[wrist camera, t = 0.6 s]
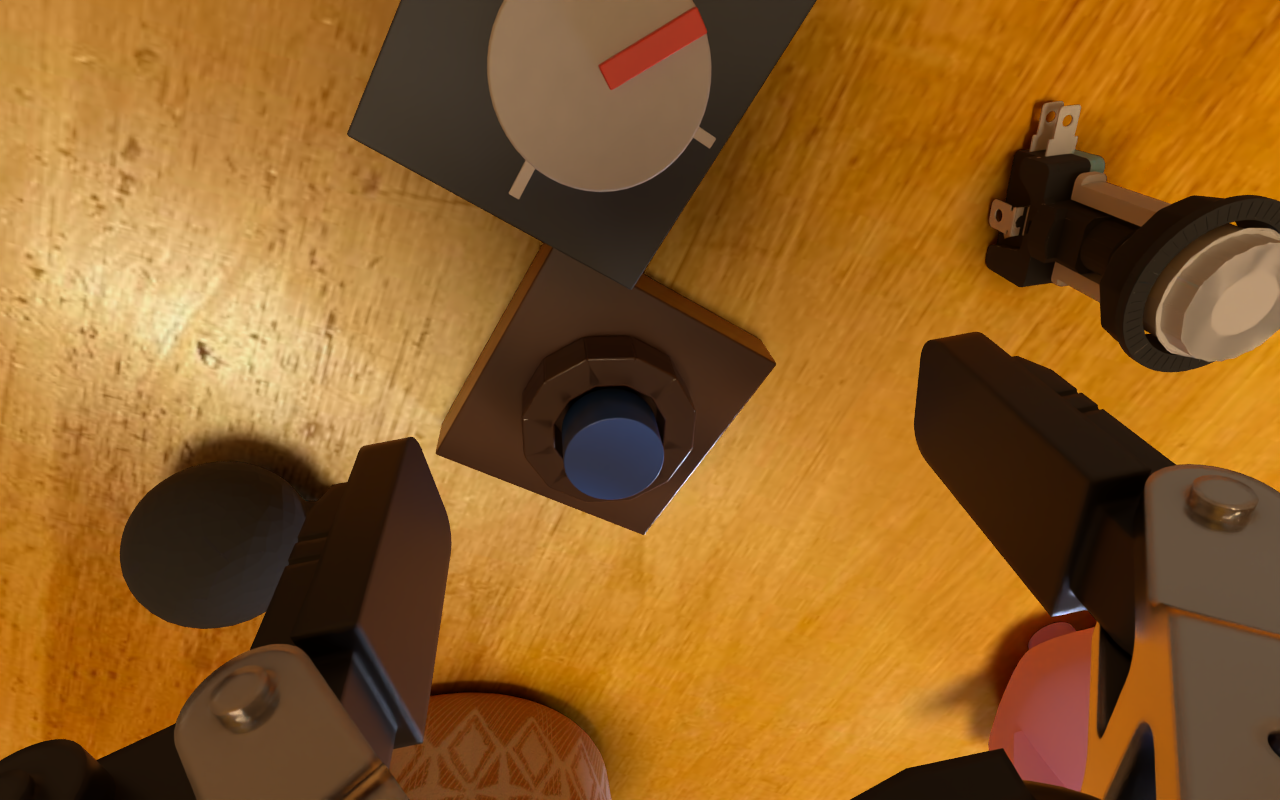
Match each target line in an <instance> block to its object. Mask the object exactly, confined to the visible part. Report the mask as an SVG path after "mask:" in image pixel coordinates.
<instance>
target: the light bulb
mask: <svg viewBox="0 0 1280 800" xmlns="http://www.w3.org/2000/svg"><path fill="white" fill-rule="evenodd" d="M316 502H317V501H305V500H304V499H302V498H301V497H300V495H299V494H298V493H297V492H296V491H295V490H294V488H293V487H292V486H291V485H290V484H289V483H288V482H287V481H285V480H284V479H283V478H281V477H280V476H278V475H276V474H275V473H273V472H271V471H269V470H267V469H264V468H262V467H259V466H256V465H252V464H248V463H241V462H225V461H221V462H213V463H206V464H201V465H198V466H194V467H190V468H187V469H185V470H183V471H181V472H178V473H176V474H174V475H172V476H170V477H169V478H167V479H165V480H164V481H162V482H161V483H159V484H158V485H157V486H155V487H154V488H153V489H152V490H150V491H149V492H148V493H147V494H146V495H145V497H144V498H143V499H142V500H141V501H140V502H139V503H138V505H137V506H136V508H135V509H134V511H133V512H132V514H131V515H130V517H129V519H128V521H127V523H126V526H125V528H124V532H123V535H122V539H121V546H120V563H121V569H122V573H123V577H124V579H125V581H126V583H127V585H128V587H129V589H130V591H131V592H132V594H133V595H134V596H135V598H136V599H137V600H138V602H139V603H141V604H142V605H143V606H144V607H145V608H146V609H147V610H149V611H150V612H151V613H153V614H154V615H156V616H158V617H160V618H162V619H163V620H165V621H167V622H170V623H174V624H177V625H180V626H183V627H191V628H200V629H208V628H220V627H226V626H233V625H236V624H239V623H242V622H245V621H248V620H251V619H253V618H255V617H257V616H259V615H260V614H262V613H264V612H266V611H267V608H268V606H269V604H270V601H271V599H272V597H273V594H274V592H275V590H276V587H277V585H278V582H279V580H280V578H281V575H282V573H283V571H284V568H285V566H288V565H289V562H288V559H289V556H290V554H291V552H292V549H293V547H294V545H295V543H298V538H297V537H298V535H299V533H300V530H301V528H302V526H303V523H304V521H305V518H306V516H307V514H308V511H309V510H310V509H311V508H312V507H313V506H314V505H315V503H316Z"/></svg>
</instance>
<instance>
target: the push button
mask: <svg viewBox="0 0 1280 800" xmlns="http://www.w3.org/2000/svg"><path fill="white" fill-rule="evenodd" d="M1080 110H1081V106H1080V105H1070V106H1064V103H1063V101H1057V102H1049V103H1045V104H1044V105H1043V106H1042V110H1041V115H1040V120H1039V125H1038V129H1037V134H1036V135H1033V136H1032V140H1031V145H1030V149H1029V150H1021V151H1017V152H1016V154H1015V156H1014V159H1013V165H1012V170H1011V175H1010V180H1009V185H1008V190H1007V195H1006V200H1005V202H1003V201H1001V200H999V199H995V200H994V201H993V202H992V207H991V212H990V218H989V223H990V226H991V227H993V228H995V229H997V230H999V236H998V241H997V244H995V245H990V246H989V248H988V250H987V256H986V265H987V267H988V268H989V269H991V270H992V271H994V272H995V273H997V274H999V275H1000V276H1002V277H1004V278H1005V279H1007V280H1008V281H1010V282H1012V283H1013V284H1015V285H1017V286H1018V287H1026V286H1032V285H1039V284H1047V283H1055V284H1056V285H1058V286H1068V285H1069V286H1071V287H1073V288H1074V289H1076V290H1078V291H1080V292H1082V293H1084V294H1085V295H1087V296H1089V297H1091V298H1093V299H1094V300H1096V301H1098V302H1100V311H1101V325H1102V327H1103V328H1104V329H1105V330H1106V331H1107V332H1108V333H1109V334H1110V335H1111V336H1112V337H1113V338H1114V339H1115V340H1116V341H1118V342H1119V344H1120V346H1121V347H1122V349H1123V350H1124V352H1125V353H1126V354H1127V355H1128V356H1129V357H1131V358H1132V359H1133V360H1135V361H1136V362H1138V363H1140V364H1141V365H1143V366H1145V367H1147V368H1149V369H1152V370H1156V371H1161V372H1180V371H1187V370H1191V369H1196V368H1199V367H1202V366H1205V365H1207V364H1210V363H1212V362H1214V361H1223V360H1226V359H1232V358H1235V357H1237V356H1239V355H1241V354H1243V353H1245V352H1248V351H1251V350H1253V349H1254V348H1256V347H1257V346H1259V345H1261V344H1263V343H1264V342H1265V341H1266V340H1267V339H1268V338H1269V337H1270V336H1272V335H1273V334H1274V333H1275V332H1276V331H1277V330H1279V329H1280V201H1277V200H1274V199H1270V198H1267V197H1262V196H1257V195H1242V196H1234V197H1229V198H1225V199H1224V198H1214V197H1205V196H1190V197H1187V198H1185V199H1183V200H1180V201H1178V202H1176V203H1173V204H1169V203H1166V202H1163V201H1160V200H1157V199H1154V198H1151V197H1148V196H1145V195H1142V194H1139V193H1136V192H1133V191H1130V190H1127V189H1124V188H1122V187H1119V186H1116V185H1113V184H1110V183H1107V182H1106V180H1107V176H1106V175H1105V174H1103V172H1104V168H1105V162H1104V159H1103V158H1102V157H1101V156H1097V155H1093V154H1089V153H1086V152H1082V151H1079V150H1076V149H1075V147H1076V143H1077V139H1078V136H1074V135H1075V131H1076V127H1077V123H1078V118H1079V114H1080ZM1051 111H1054V112H1055V118H1054V119H1053V121H1051V122H1047V121H1046V116H1047V114H1048V113H1049V112H1051ZM1067 115H1071V116H1072V121H1071V123H1070V124H1069V125H1068V126H1066V127H1064V126H1063V125H1062V121H1063V119H1064V118H1065V116H1067ZM999 209H1000V210H1001V211H1002V219H1001V221H1000V222H999V221H998V220H997V217H996V214H997V211H998V210H999ZM1231 222H1236V224H1237V226H1235V225H1232V224H1229V223H1231ZM1144 330H1146V331H1147V332H1149V333H1151V334H1145V332H1144Z"/></svg>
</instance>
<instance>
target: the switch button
mask: <svg viewBox="0 0 1280 800" xmlns="http://www.w3.org/2000/svg"><path fill="white" fill-rule="evenodd" d="M562 446H563V463H564V469H565V473H566V475H567V477H568V479H569V480H570V482H571V483H572V484H573V485H574V486H575V487H576V488H577V489H578V490H580V491H581V492H583V493H584V494H586V495H589V496H591V497H594V498H599V499H606V500H615V499H622V498H626V497H630V496H633V495H635V494H637V493H639V492H641V491H643V490H644V489H645V488H647V487H648V486H649V485H650V484H651V483H652V482H653V481H654V480H655V479H656V478H657V476H658V475H659V473H660V471H661V469H662V466H663V462H664V449H663V444H662V441H661V437H660V434H659V430H658V426H657V423H656V419H655V416H654V413H653V411H652V409H651V408H650V406H649V405H648V404H647V403H646V402H645V401H644V400H643V399H642V398H641V397H639V396H638V395H636V394H634V393H632V392H629V391H626V390H622V389H601V390H597V391H594V392H591V393H589V394H587V395H585V396H583V397H581V398H580V399H579V400H577V401H576V402H575V403H574V404H573V405H572V406H571V407H570V409H569V410H568V411H567V413H566V415H565V417H564V420H563V424H562Z"/></svg>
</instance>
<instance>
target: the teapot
mask: <svg viewBox="0 0 1280 800" xmlns="http://www.w3.org/2000/svg"><path fill="white" fill-rule="evenodd" d="M1094 628H1095V627H1093V628H1088V629H1085V630H1081V631H1077V632H1076V630H1075V629H1074V628H1073V626H1072V625H1071V624H1069V623H1065V622H1058V623H1053V624H1050V625H1048V626H1045V627H1043V628H1042V629H1040V630H1039V631H1037V632H1036V633H1035V634H1034V635H1033V636H1032V637H1031V639H1030V641H1029V644H1028V648H1029V651H1028V652H1026V653H1025V654H1024V656H1023V657H1022V658H1021V660H1020V661H1019V663H1018V665H1017V666H1016V668H1015V670H1014V672H1013V674H1012V676H1011V678H1010V681H1009V683H1008V685H1007V687H1006V690H1005V692H1004V694H1003V697H1002V699H1001V702H1000V704H999V707H998V710H997V713H996V716H995V719H994V723H993V726H992V730H991V733H990V738H989V744H988V745H989V751H991V750H996V749H1001V748H1003V749H1004V751H1005V752H1006V754H1007V756H1008V757H1009V759H1010V760H1011V762H1012V764H1013V765H1014V767H1015V769H1016V770H1017V772H1018V774H1019V775H1020V777H1021V779H1022V780H1029V781H1035V782H1040V783H1045V784H1051V785H1056V786H1061V787H1065V788H1068V789H1072V790H1075V791H1078V792H1080V791H1081V787H1082V783H1083V778H1084V773H1085V767H1086V760H1087V746H1088V720H1089V695H1090V669H1091V644H1092V635H1093V631H1094Z"/></svg>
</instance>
